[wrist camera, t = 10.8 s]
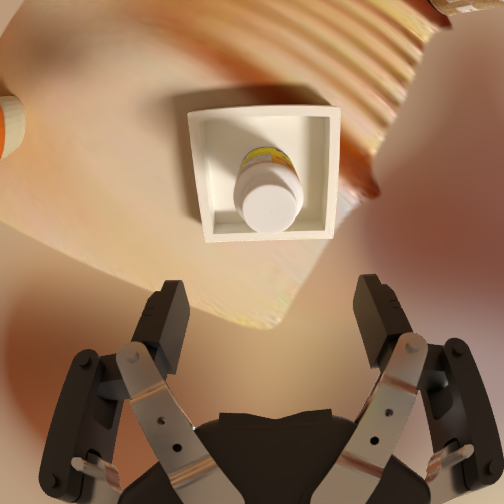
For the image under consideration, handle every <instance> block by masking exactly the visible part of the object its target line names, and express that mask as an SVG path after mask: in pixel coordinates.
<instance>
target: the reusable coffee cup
mask: <svg viewBox="0 0 504 504" xmlns="http://www.w3.org/2000/svg"><path fill="white" fill-rule="evenodd" d="M25 128H26V116H25V110H24V107H23V104H22V103H21V101H20V100H19V99H18V98H17V97H15V96H1V97H0V161H1V160H3V159H4V158H5V157H7V156H8V155H10V154H11V153H12V152H14V151H15V150H17V149H18V147H19V146H20V145H21V143H22V140H23V138H24V134H25Z"/></svg>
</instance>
